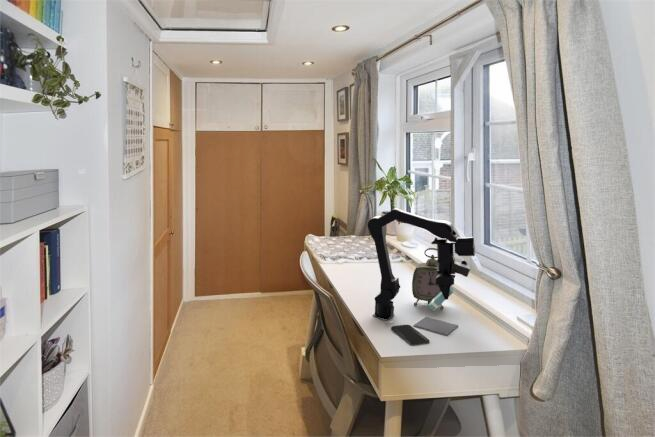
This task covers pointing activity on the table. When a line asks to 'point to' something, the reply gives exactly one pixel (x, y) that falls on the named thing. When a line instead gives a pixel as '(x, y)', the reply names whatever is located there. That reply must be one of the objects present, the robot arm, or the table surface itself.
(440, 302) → the box
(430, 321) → the felt mat
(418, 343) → the phone
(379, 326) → the table surface
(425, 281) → the tabletop clock
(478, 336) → the table surface
